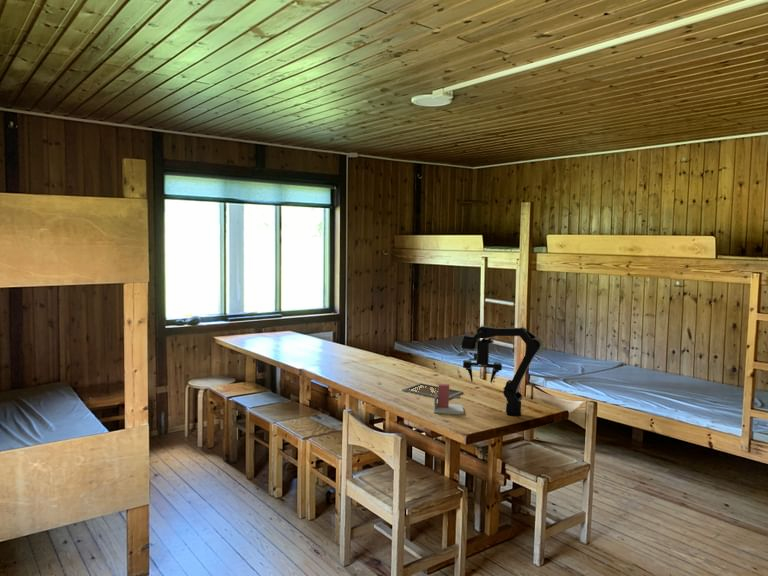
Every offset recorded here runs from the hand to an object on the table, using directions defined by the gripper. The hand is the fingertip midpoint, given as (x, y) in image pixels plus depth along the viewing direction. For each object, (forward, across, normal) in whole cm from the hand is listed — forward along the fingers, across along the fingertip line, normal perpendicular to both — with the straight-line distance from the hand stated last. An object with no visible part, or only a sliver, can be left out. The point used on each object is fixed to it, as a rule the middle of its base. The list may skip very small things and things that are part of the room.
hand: (481, 382), depth 281 cm
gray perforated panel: (+14, +24, -23) cm, 36 cm away
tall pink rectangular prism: (+12, +18, +8) cm, 23 cm away
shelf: (+13, +15, +8) cm, 22 cm away
